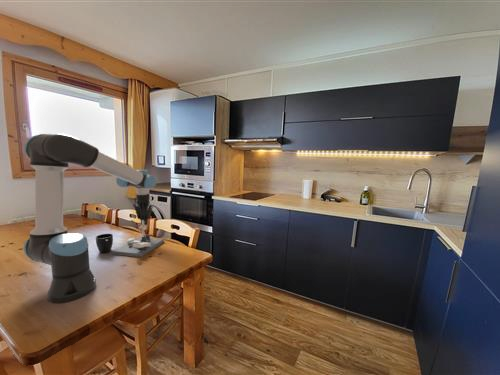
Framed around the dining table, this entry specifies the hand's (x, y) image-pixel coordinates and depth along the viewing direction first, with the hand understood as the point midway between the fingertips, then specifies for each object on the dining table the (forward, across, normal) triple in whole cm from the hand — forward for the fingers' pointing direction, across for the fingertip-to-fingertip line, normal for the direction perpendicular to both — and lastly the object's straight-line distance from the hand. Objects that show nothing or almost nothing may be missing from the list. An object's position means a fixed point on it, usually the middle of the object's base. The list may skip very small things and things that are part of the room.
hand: (144, 229), depth 136 cm
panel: (+9, -2, +7) cm, 12 cm away
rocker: (+5, -8, +13) cm, 16 cm away
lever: (+6, -1, 0) cm, 6 cm away
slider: (+7, -2, +10) cm, 13 cm away
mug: (+10, +13, +17) cm, 24 cm away
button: (+7, +4, +7) cm, 11 cm away
